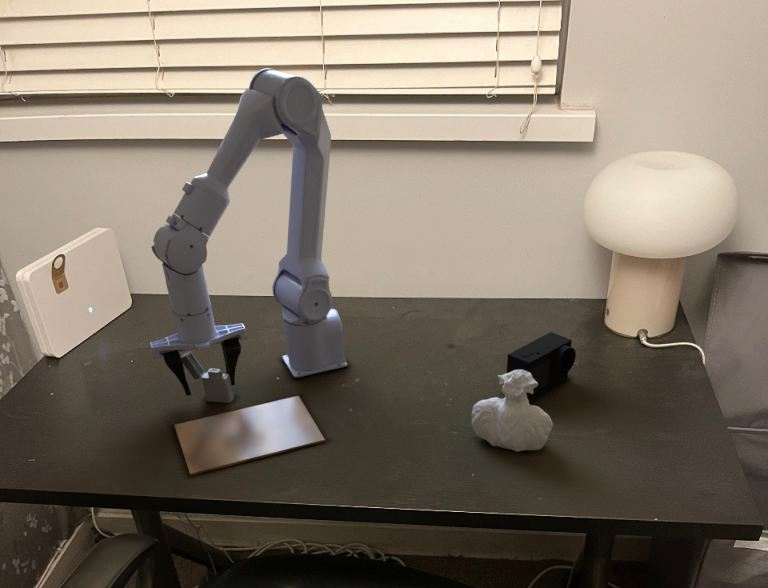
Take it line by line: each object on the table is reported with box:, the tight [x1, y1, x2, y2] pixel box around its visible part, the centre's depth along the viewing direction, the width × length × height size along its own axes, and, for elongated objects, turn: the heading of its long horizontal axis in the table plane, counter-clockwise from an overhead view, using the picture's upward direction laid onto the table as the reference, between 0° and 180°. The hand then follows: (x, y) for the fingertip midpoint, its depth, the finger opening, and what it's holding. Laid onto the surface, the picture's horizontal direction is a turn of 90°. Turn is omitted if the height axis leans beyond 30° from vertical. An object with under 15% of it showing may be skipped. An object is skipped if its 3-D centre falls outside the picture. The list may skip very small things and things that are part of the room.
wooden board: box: [173, 395, 326, 477], centre depth 116 cm, size 20×14×1 cm
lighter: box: [180, 350, 235, 404], centre depth 122 cm, size 7×2×8 cm, turn 77°
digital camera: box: [506, 331, 577, 401], centre depth 120 cm, size 10×5×7 cm, turn 131°
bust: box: [470, 369, 554, 453], centre depth 109 cm, size 12×8×11 cm, turn 62°
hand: (209, 387), depth 123 cm, fingers closed on lighter, 6 cm apart
